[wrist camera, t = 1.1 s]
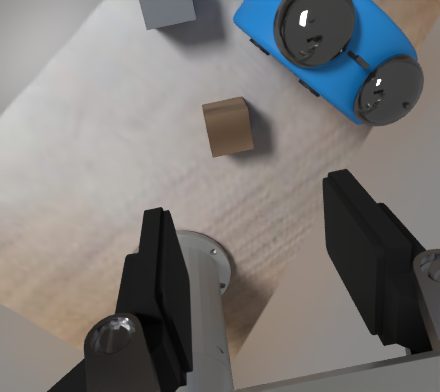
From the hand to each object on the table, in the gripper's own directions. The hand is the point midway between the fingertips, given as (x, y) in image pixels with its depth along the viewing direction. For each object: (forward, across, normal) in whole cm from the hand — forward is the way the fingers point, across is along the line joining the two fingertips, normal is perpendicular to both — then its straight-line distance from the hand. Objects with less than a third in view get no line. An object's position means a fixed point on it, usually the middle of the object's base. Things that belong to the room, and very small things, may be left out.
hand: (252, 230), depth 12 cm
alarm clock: (+28, -9, -1) cm, 29 cm away
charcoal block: (+27, +2, -6) cm, 28 cm away
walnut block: (+27, -1, +6) cm, 28 cm away
